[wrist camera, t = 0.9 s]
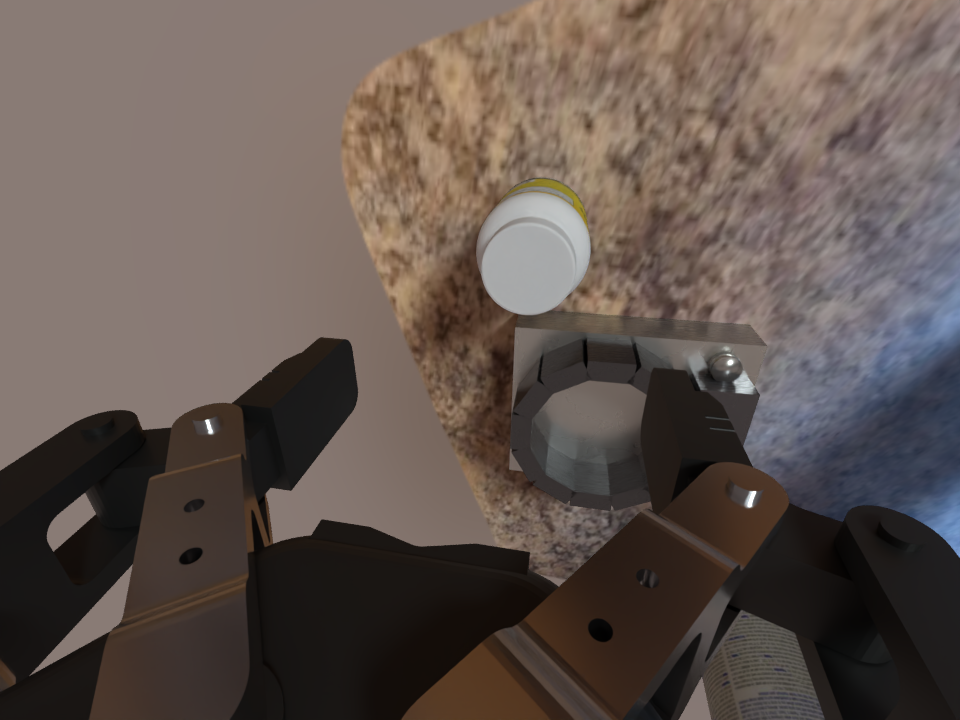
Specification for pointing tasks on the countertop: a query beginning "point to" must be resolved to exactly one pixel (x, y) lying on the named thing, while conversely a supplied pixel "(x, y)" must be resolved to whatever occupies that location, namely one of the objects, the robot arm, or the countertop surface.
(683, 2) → the countertop surface
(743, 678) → the spray can
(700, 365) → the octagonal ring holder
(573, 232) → the supplement bottle
